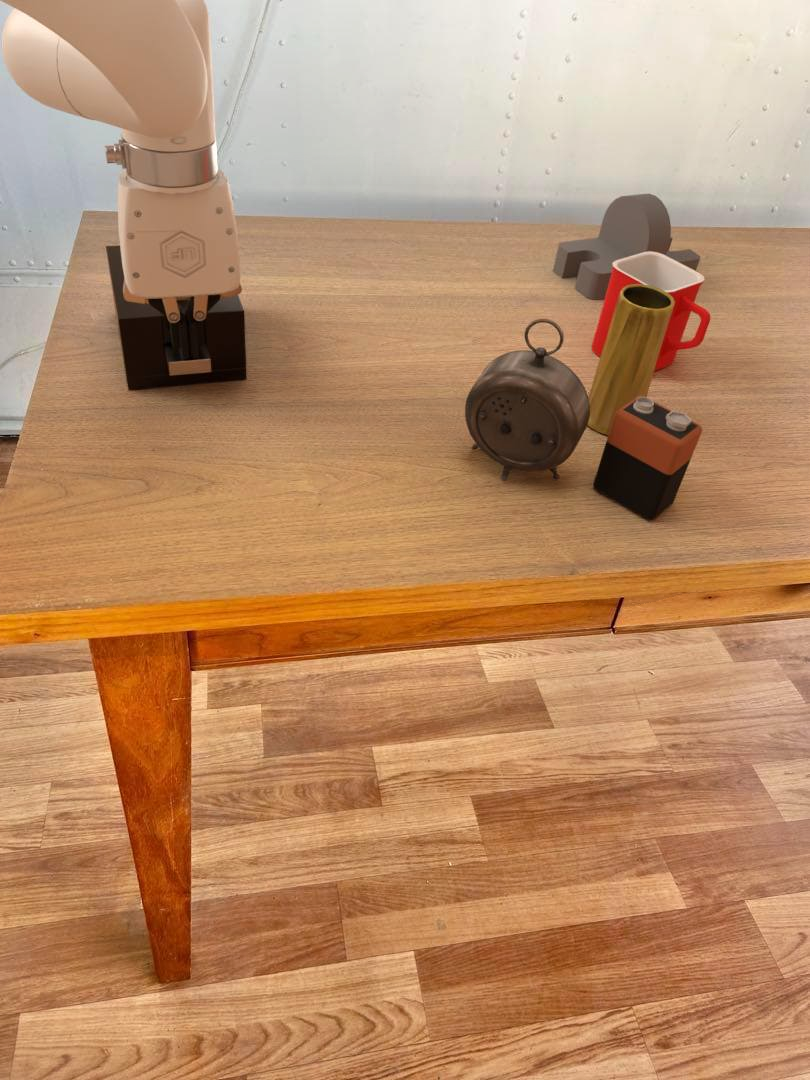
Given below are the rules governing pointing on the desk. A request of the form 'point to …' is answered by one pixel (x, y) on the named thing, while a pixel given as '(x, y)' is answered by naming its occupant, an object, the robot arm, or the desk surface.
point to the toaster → (150, 335)
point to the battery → (646, 456)
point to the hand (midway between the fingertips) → (188, 351)
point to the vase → (629, 352)
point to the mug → (669, 279)
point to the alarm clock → (527, 410)
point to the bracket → (619, 243)
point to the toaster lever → (187, 361)
